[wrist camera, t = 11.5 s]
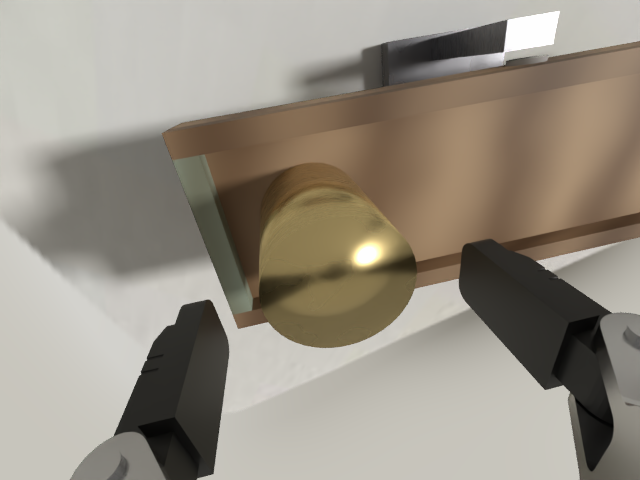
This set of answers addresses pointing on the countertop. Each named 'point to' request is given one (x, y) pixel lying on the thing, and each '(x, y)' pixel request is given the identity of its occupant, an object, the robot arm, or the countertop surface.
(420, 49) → the pivot stand
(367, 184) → the beam
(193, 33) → the countertop surface
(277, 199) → the cylinder
